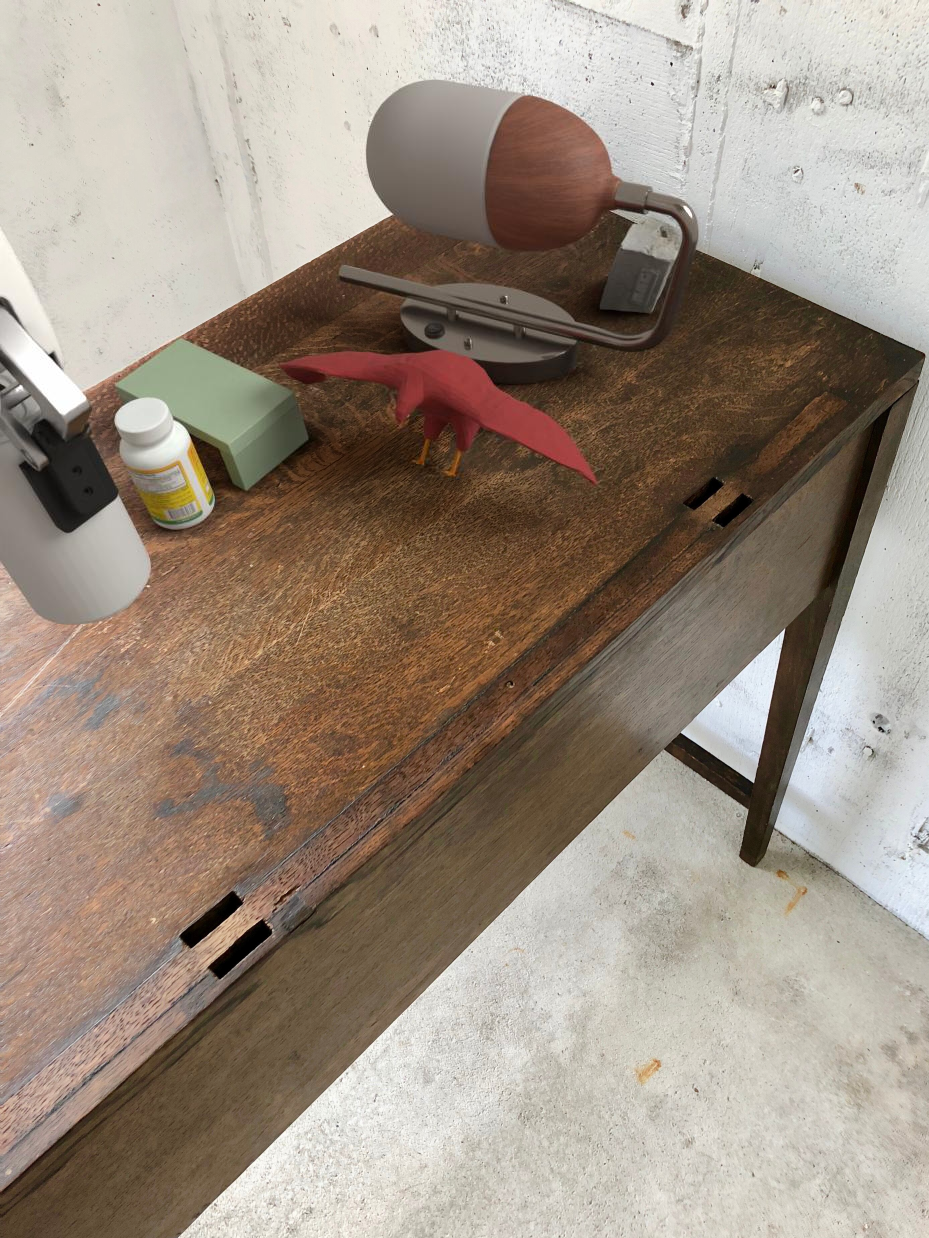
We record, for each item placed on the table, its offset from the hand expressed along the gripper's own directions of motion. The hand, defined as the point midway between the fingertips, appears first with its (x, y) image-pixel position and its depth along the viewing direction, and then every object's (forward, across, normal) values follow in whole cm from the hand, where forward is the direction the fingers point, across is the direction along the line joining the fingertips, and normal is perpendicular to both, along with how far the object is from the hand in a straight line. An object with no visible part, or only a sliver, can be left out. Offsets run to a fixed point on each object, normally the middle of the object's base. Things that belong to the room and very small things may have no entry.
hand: (40, 480), depth 45 cm
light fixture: (+24, -8, +46) cm, 52 cm away
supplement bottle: (+24, -18, +15) cm, 34 cm away
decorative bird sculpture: (+24, -3, +32) cm, 40 cm away
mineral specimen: (+24, -2, +58) cm, 63 cm away
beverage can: (+7, 0, 0) cm, 7 cm away
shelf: (+24, -22, +23) cm, 40 cm away
